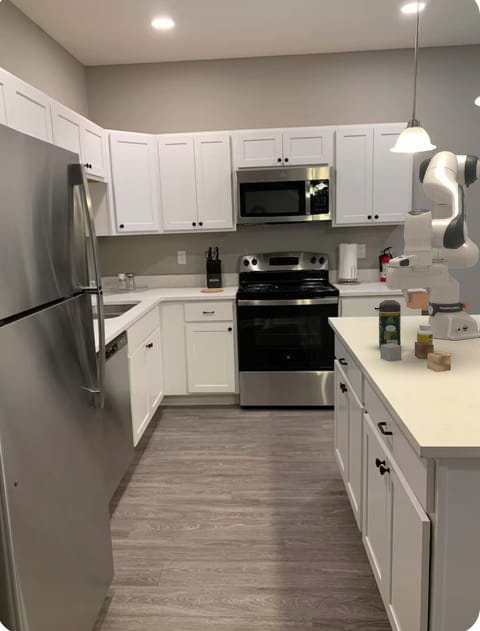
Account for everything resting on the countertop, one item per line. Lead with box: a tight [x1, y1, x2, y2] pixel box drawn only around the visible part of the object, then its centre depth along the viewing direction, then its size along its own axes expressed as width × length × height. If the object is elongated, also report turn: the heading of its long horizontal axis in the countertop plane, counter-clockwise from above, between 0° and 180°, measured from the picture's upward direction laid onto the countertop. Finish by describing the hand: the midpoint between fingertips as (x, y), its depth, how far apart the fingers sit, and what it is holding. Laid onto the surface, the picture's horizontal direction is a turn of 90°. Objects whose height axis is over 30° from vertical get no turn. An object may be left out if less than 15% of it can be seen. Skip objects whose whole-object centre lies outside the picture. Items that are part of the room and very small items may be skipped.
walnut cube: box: [414, 341, 435, 360], centre depth 171 cm, size 5×5×5 cm
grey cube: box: [380, 343, 402, 362], centre depth 171 cm, size 5×5×5 cm
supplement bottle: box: [416, 323, 434, 344], centre depth 179 cm, size 5×5×10 cm
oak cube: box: [426, 351, 452, 373], centre depth 157 cm, size 5×5×5 cm
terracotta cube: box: [406, 291, 429, 310], centre depth 161 cm, size 5×5×5 cm
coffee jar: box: [378, 299, 402, 350], centre depth 184 cm, size 10×8×19 cm
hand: (417, 301), depth 161 cm, fingers closed on terracotta cube, 5 cm apart
